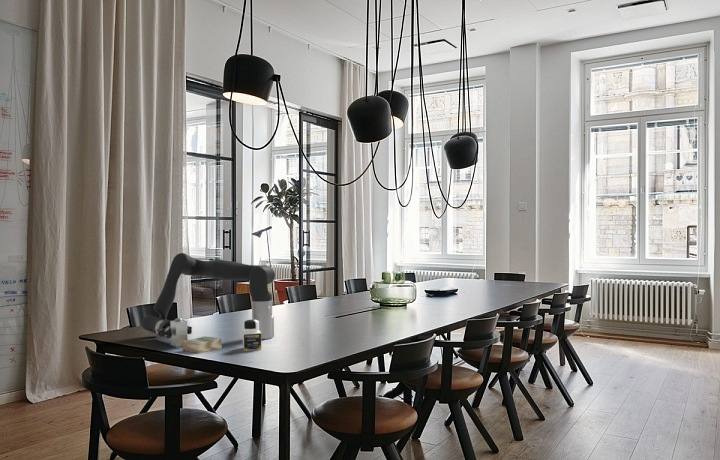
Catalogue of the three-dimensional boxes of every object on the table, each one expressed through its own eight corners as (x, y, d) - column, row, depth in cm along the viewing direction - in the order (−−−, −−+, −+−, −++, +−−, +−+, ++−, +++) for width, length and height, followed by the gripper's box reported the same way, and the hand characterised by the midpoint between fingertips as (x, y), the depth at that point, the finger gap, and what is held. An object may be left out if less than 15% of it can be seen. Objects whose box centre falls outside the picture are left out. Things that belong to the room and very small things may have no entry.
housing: (170, 346, 251) (170, 318, 251) (181, 344, 254) (181, 317, 255) (176, 348, 246) (176, 320, 246) (187, 346, 249) (187, 318, 249)
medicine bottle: (244, 351, 238) (243, 321, 238) (242, 347, 245) (242, 319, 245) (261, 349, 240) (261, 320, 240) (259, 346, 247) (259, 318, 247)
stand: (205, 345, 251) (205, 335, 251) (221, 348, 245) (221, 338, 245) (182, 350, 241) (182, 340, 241) (198, 353, 235) (198, 342, 235)
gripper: (150, 321, 257) (164, 326, 244) (181, 318, 266) (196, 322, 253) (150, 338, 257) (164, 344, 244) (181, 334, 266) (196, 339, 253)
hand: (180, 333), depth 249 cm, fingers open, 8 cm apart
